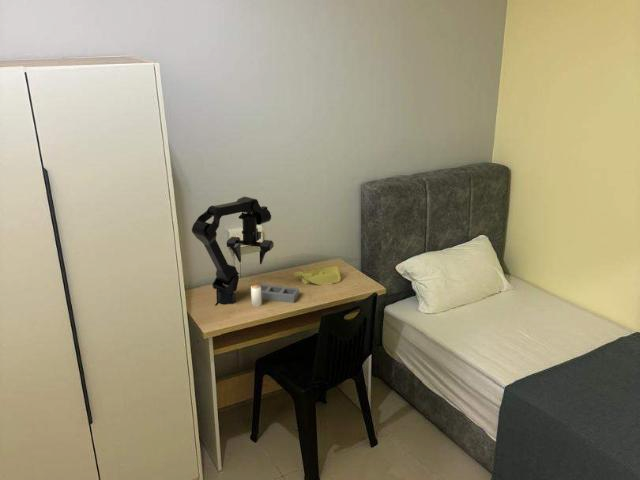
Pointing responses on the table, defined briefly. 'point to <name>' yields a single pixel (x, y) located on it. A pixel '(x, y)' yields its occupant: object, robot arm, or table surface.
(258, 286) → the plug
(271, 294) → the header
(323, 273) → the plastic component
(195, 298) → the table surface
